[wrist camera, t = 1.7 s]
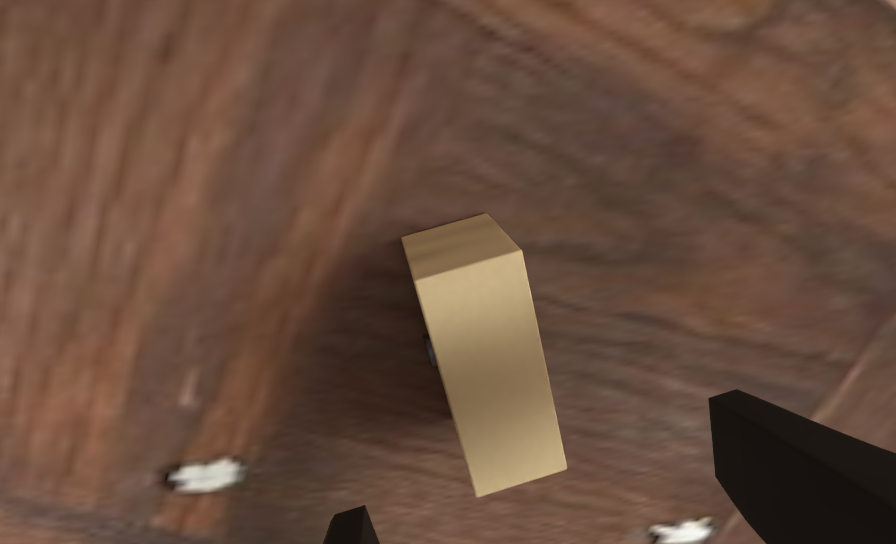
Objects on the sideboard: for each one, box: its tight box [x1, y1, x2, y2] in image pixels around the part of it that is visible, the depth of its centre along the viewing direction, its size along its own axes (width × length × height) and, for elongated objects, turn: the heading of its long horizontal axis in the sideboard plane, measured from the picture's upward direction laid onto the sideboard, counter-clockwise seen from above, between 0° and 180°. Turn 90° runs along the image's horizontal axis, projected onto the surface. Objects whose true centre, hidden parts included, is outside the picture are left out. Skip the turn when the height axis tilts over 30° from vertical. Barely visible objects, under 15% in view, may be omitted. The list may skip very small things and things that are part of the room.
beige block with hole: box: [401, 213, 567, 497], centre depth 17 cm, size 7×3×4 cm, turn 14°
